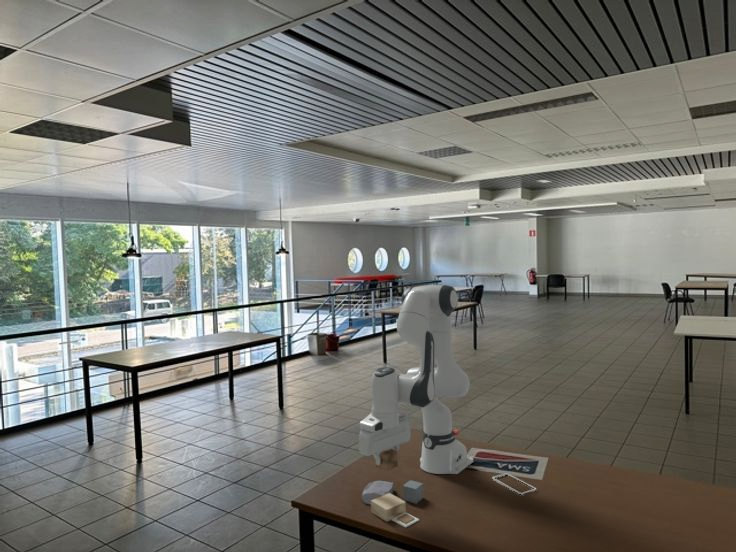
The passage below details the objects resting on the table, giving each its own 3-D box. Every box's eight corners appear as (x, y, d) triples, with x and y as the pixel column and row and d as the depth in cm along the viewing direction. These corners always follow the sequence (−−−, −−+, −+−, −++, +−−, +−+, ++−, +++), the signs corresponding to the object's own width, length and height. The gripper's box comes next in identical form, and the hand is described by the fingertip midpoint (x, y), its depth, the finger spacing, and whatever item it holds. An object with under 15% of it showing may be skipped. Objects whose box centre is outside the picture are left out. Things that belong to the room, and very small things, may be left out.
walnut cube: (387, 462, 161) (386, 447, 161) (397, 466, 158) (397, 451, 158) (375, 466, 158) (375, 451, 158) (386, 470, 154) (386, 455, 154)
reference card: (405, 513, 157) (405, 511, 157) (419, 520, 152) (419, 518, 152) (392, 520, 153) (391, 518, 153) (405, 527, 148) (405, 525, 148)
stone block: (361, 509, 164) (389, 506, 162) (358, 495, 164) (386, 491, 162) (369, 494, 175) (396, 491, 173) (367, 481, 176) (393, 477, 173)
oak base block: (390, 504, 163) (389, 493, 163) (405, 514, 157) (405, 501, 157) (371, 512, 158) (370, 500, 158) (386, 522, 152) (386, 509, 152)
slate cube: (410, 494, 170) (410, 480, 170) (423, 497, 167) (422, 483, 167) (403, 500, 166) (402, 485, 165) (416, 503, 163) (416, 489, 163)
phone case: (491, 480, 179) (521, 497, 166) (491, 476, 179) (521, 493, 166) (506, 476, 183) (537, 492, 169) (506, 472, 183) (537, 488, 169)
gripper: (401, 410, 167) (402, 450, 167) (355, 423, 153) (356, 467, 154) (414, 413, 162) (415, 455, 162) (368, 428, 149) (369, 473, 149)
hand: (386, 461), depth 158 cm, fingers closed on walnut cube, 5 cm apart
